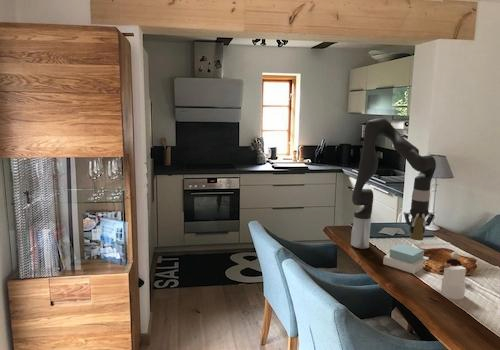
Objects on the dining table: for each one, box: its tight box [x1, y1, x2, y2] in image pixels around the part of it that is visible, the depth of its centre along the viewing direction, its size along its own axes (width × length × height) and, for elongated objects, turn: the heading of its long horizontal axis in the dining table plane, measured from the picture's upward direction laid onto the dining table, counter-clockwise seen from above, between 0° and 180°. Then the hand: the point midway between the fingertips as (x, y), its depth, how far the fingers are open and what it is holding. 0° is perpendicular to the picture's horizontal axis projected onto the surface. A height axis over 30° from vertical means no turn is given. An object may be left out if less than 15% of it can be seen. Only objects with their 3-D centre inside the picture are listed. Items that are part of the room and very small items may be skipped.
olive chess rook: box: [409, 217, 424, 241], centre depth 191 cm, size 6×6×11 cm
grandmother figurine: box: [443, 251, 463, 267], centre depth 190 cm, size 8×4×13 cm, turn 71°
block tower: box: [382, 243, 430, 275], centre depth 205 cm, size 16×16×8 cm
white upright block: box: [440, 265, 467, 300], centre depth 173 cm, size 9×9×12 cm
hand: (416, 233), depth 192 cm, fingers closed on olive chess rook, 4 cm apart
